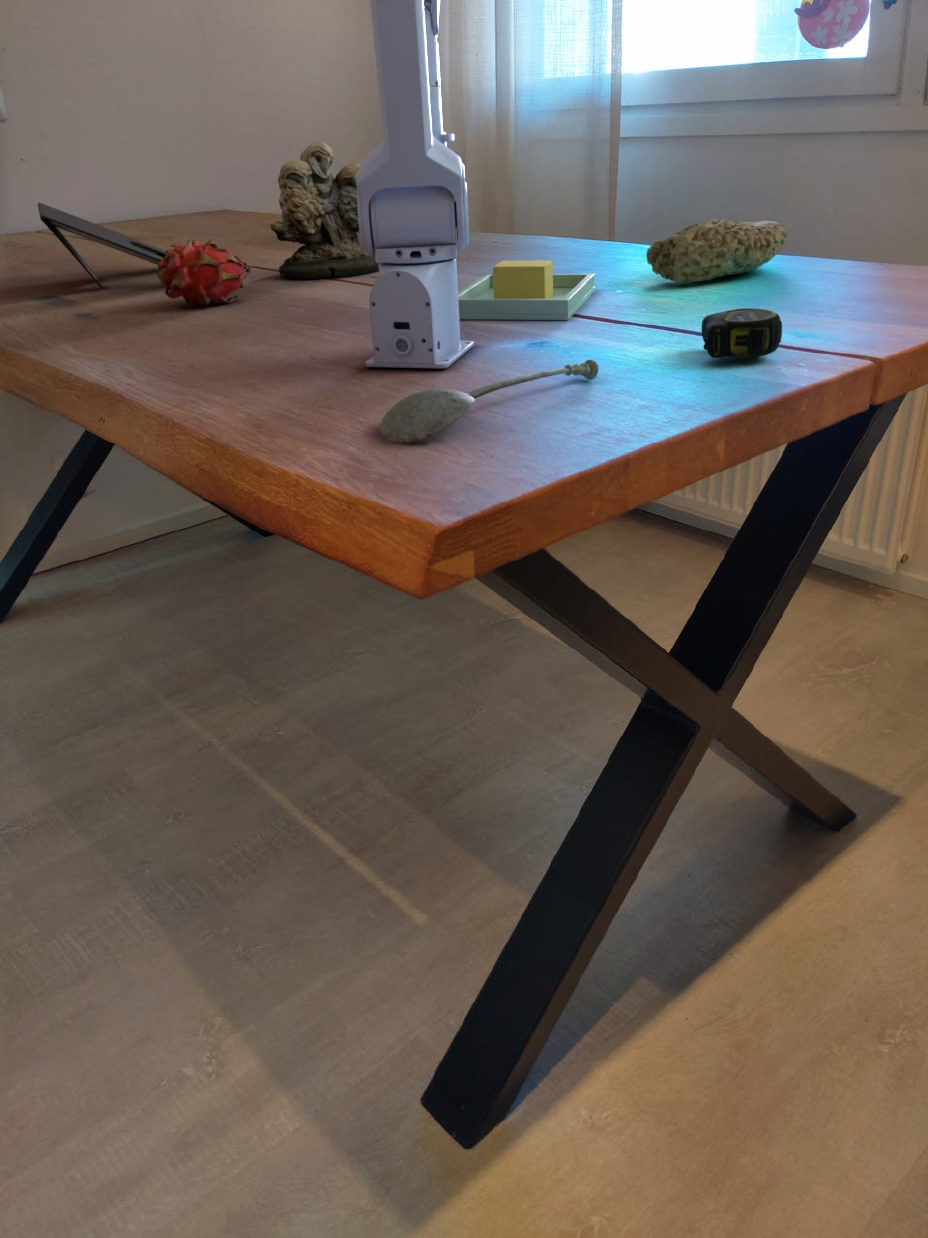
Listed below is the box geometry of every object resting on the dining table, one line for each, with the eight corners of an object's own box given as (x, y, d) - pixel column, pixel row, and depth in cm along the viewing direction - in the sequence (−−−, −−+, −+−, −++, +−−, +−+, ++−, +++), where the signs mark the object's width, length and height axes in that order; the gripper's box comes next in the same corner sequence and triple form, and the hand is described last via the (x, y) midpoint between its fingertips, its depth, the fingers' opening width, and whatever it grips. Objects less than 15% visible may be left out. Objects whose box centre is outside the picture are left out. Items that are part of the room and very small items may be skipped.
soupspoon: (363, 440, 76) (417, 463, 72) (358, 397, 74) (414, 417, 70) (565, 370, 88) (622, 386, 84) (565, 332, 86) (624, 346, 82)
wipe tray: (568, 320, 108) (568, 299, 107) (447, 319, 112) (446, 299, 111) (594, 291, 122) (594, 273, 121) (486, 291, 126) (485, 273, 125)
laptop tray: (198, 328, 143) (218, 265, 141) (27, 268, 132) (44, 198, 130) (177, 303, 162) (194, 247, 160) (26, 249, 151) (41, 187, 149)
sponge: (693, 301, 120) (827, 247, 124) (678, 234, 117) (815, 181, 121) (637, 305, 131) (761, 255, 136) (622, 244, 129) (749, 196, 133)
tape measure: (699, 348, 94) (701, 307, 92) (775, 347, 93) (779, 305, 91) (701, 366, 88) (704, 322, 86) (783, 365, 87) (787, 321, 85)
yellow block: (545, 303, 114) (544, 266, 112) (493, 303, 115) (492, 266, 114) (553, 295, 118) (552, 259, 116) (503, 295, 119) (502, 260, 117)
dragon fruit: (156, 322, 126) (249, 323, 132) (168, 288, 119) (266, 290, 124) (145, 260, 128) (238, 264, 133) (156, 222, 120) (253, 227, 126)
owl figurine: (296, 284, 137) (279, 146, 130) (260, 275, 146) (242, 146, 138) (408, 267, 146) (398, 137, 138) (367, 259, 155) (356, 136, 147)
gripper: (427, 86, 97) (436, 236, 103) (470, 85, 109) (475, 219, 115) (359, 90, 99) (372, 237, 105) (408, 88, 111) (417, 220, 117)
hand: (422, 228), depth 110 cm, fingers open, 7 cm apart
